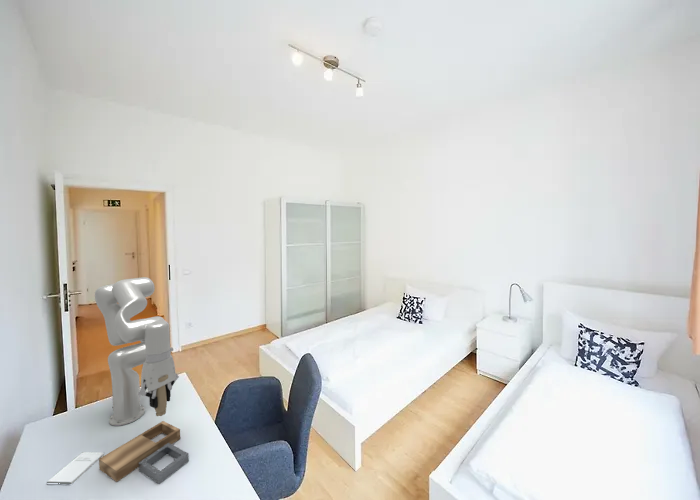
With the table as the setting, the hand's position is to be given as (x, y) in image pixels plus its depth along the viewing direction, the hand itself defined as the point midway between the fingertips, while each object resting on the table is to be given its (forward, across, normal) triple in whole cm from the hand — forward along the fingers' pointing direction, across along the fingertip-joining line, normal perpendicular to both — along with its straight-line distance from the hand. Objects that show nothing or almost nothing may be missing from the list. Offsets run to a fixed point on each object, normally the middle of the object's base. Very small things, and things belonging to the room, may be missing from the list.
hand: (160, 403), depth 106 cm
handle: (+4, 0, 0) cm, 4 cm away
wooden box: (+20, +3, -8) cm, 21 cm away
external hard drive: (+20, +17, -20) cm, 34 cm away
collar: (+20, +3, +6) cm, 21 cm away
